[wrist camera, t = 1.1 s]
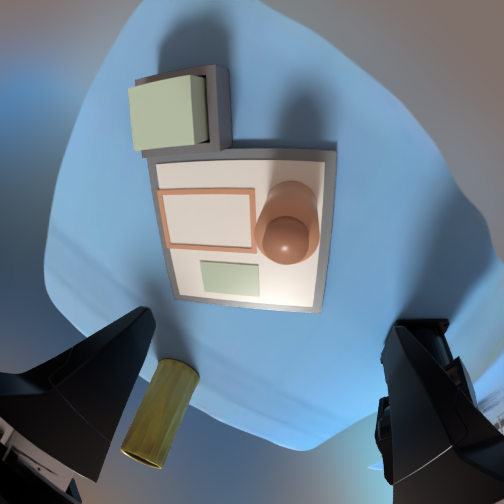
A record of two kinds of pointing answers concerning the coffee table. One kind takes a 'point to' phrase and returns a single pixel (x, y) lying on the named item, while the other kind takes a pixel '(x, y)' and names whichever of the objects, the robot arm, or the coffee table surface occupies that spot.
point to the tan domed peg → (288, 224)
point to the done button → (169, 113)
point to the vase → (160, 413)
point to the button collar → (216, 110)
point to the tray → (238, 225)
